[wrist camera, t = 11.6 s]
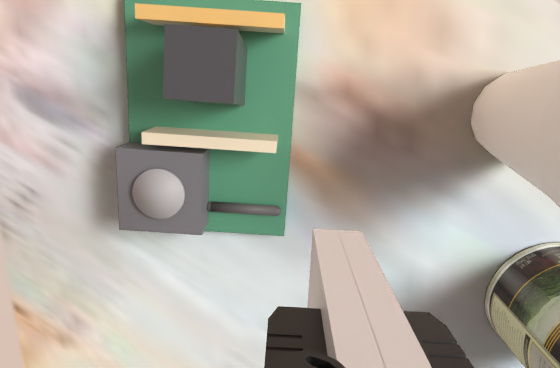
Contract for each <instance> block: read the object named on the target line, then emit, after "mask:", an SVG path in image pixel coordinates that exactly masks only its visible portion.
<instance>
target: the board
mask: <svg viewBox="0 0 560 368" xmlns="http://www.w3.org/2000/svg"><path fill="white" fill-rule="evenodd" d="M124 7H125V34H126V61H127V87H128V114H129V140H130V142H128V143H126V144H124V145H121V146H119V147H117V148H116V169H117V190H118V211H119V230H134V231H149V232H163V233H178V234H193V235H202V234H203V232H204V231H217V232H232V233H246V234H261V235H276V236H284V230H285V216H286V202H287V189H288V175H289V161H290V148H291V134H292V120H293V107H294V93H295V79H296V66H297V52H298V39H299V25H300V11H301V3H292V2H277V1H262V0H124ZM164 24H173V25H188V26H202V27H217V28H231V29H238V31H239V33H240V35H241V37H242V38H243V40H244V42H245V44H246V46H247V68H246V87H245V106H238V105H223V104H209V103H194V102H184V101H177V100H170V99H164V98H163V74H164Z"/></svg>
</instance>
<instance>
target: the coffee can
mask: <svg viewBox="0 0 560 368" xmlns="http://www.w3.org/2000/svg"><path fill="white" fill-rule="evenodd" d="M485 310H486V315H487V318H488V320H489V323H490V325H491V327H492V328H493V329H494V331H495V332H496V333H497V334H498V335H499V336H500V337H501V338H502V339H503V340H504V341H505V343H506V344H507V345H508V347H509V348H510V349H511V350H512V352H513V353H514V354H515V355H516V357H517V358H518V359H519V361H520V362H521V363H522V364H523V365H524V367H525V368H560V243H556V242H555V243H545V244H540V245H536V246H533V247H530V248H527V249H525V250H523V251H521V252H519V253H517V254H516V255H514V256H513V257H511V258H510V259H509V260H508V261H506V262H505V263H504V264H503V265H502V266H501V267H500V268H499V269H498V271H497V272H496V273H495V275H494V276H493V278H492V280H491V282H490V284H489V286H488V289H487V292H486V298H485Z"/></svg>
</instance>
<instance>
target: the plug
mask: <svg viewBox="0 0 560 368" xmlns="http://www.w3.org/2000/svg"><path fill="white" fill-rule="evenodd" d="M246 68H247V46H246V44H245V42H244V40H243V38H242V37H241V35H240V33H239V31H238V29H231V28H217V27H202V26H188V25H173V24H164V74H163V98H164V99H170V100H177V101H184V102H194V103H209V104H223V105H238V106H245V87H246Z"/></svg>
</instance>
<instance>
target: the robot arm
mask: <svg viewBox="0 0 560 368" xmlns="http://www.w3.org/2000/svg"><path fill="white" fill-rule="evenodd" d="M264 368H474V367H473V366H472V364H471V363H470V361H469V360H468V359H466V357H465V354H464V352H463V351H462V349H461V347H460V346H459V345H457V341H456V340H455V338H454V337H453V335H452V334H451V332H450V331H449V329H448V328H447V326H446V325H444V324H443V323H442V322H440V321H439V320H438V319H436V318H435V317H434V316H433V315H431V314H430V313H427V312H408V311H403V310H402V308H401V307H400V305H399V303H398V301H397V299H396V297H395V295H394V293H393V291H392V289H391V287H390V285H389V283H388V281H387V279H386V277H385V275H384V273H383V271H382V270H381V268H380V266H379V264H378V262H377V260H376V258H375V256H374V254H373V252H372V250H371V248H370V246H369V244H368V242H367V240H366V238H365V236H364V234H363V232H362V231H352V230H332V229H313V237H312V251H311V265H310V279H309V294H308V308H298V307H277V309H276V310H275V311H274V312H273V314H272V315H271V316H270V317H269V319H268V330H267V342H266V355H265V367H264Z"/></svg>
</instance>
